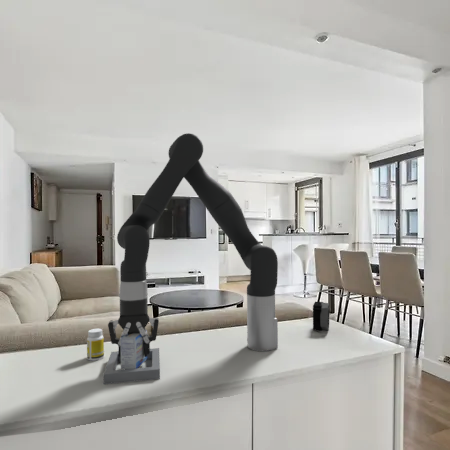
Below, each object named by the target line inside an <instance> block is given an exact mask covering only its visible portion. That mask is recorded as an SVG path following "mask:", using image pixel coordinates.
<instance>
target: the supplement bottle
mask: <svg viewBox="0 0 450 450" xmlns="http://www.w3.org/2000/svg"><path fill="white" fill-rule="evenodd" d="M87 335H88V336H87V338H86V355H87V357H86V359H87V360H88V361H94V362H95V361H99V360H101V359H103V358H105V356H104V355H105V349H104V348H105V347H104V346H105V345H104V341H105V340H104V335H103V329H102V328H92V329H89V330H88V332H87Z"/></svg>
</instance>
